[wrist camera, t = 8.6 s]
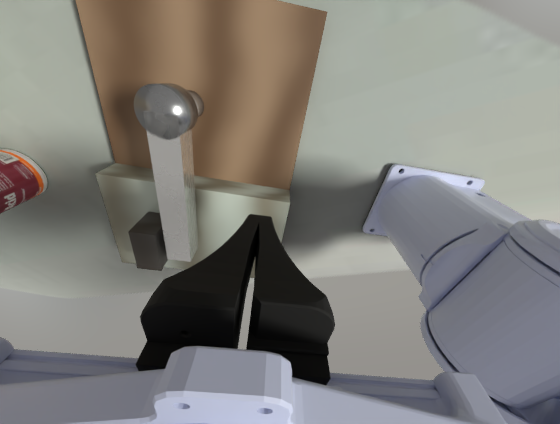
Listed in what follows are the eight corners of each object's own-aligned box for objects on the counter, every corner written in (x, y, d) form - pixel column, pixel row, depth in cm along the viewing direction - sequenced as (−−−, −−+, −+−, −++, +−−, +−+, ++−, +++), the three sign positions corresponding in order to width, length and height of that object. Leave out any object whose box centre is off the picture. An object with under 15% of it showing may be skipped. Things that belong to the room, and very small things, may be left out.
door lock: (324, 15, 15) (350, -22, 9) (274, 257, 27) (272, 304, 21) (77, -41, 13) (-65, -123, 8) (140, 240, 25) (101, 285, 20)
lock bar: (148, 79, 13) (128, 79, 12) (197, 87, 14) (184, 89, 12) (171, 243, 20) (161, 258, 19) (203, 247, 21) (196, 262, 19)
